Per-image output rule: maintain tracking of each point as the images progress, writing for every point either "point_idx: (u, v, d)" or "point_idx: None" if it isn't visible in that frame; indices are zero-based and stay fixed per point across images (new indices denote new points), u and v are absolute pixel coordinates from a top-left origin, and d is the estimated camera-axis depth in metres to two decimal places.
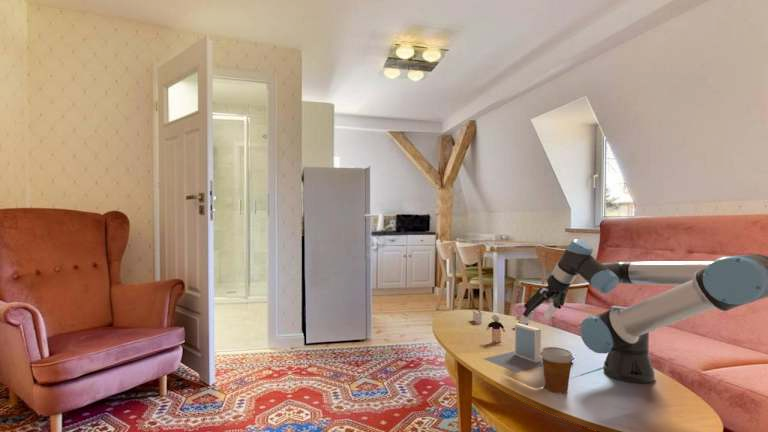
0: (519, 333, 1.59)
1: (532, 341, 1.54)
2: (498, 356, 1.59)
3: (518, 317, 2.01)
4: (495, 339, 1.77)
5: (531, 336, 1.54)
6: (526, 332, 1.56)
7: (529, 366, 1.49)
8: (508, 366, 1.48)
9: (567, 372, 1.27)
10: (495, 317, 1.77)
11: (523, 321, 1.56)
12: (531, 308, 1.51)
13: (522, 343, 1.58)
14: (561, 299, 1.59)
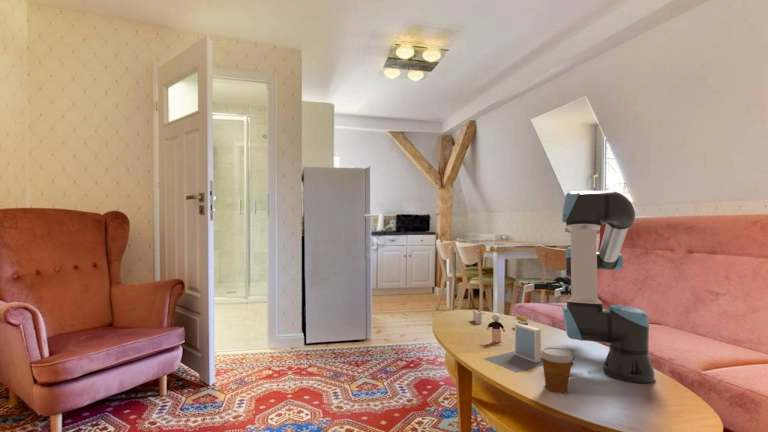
0: (519, 333, 1.59)
1: (532, 341, 1.54)
2: (498, 356, 1.59)
3: (518, 317, 2.01)
4: (495, 339, 1.77)
5: (531, 336, 1.54)
6: (526, 332, 1.56)
7: (529, 366, 1.49)
8: (508, 366, 1.48)
9: (567, 372, 1.27)
10: (495, 317, 1.77)
11: None
12: (531, 282, 1.75)
13: (522, 343, 1.58)
14: (570, 288, 1.65)
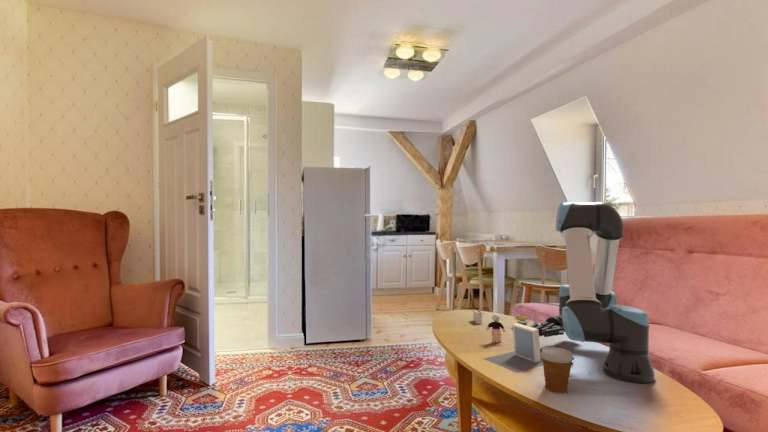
0: (517, 334, 1.59)
1: (531, 341, 1.54)
2: (498, 356, 1.59)
3: (517, 317, 2.02)
4: (495, 339, 1.77)
5: (529, 337, 1.54)
6: (524, 333, 1.56)
7: (529, 366, 1.49)
8: (508, 366, 1.48)
9: (567, 372, 1.27)
10: (495, 317, 1.77)
11: None
12: (532, 326, 1.67)
13: (521, 343, 1.58)
14: None
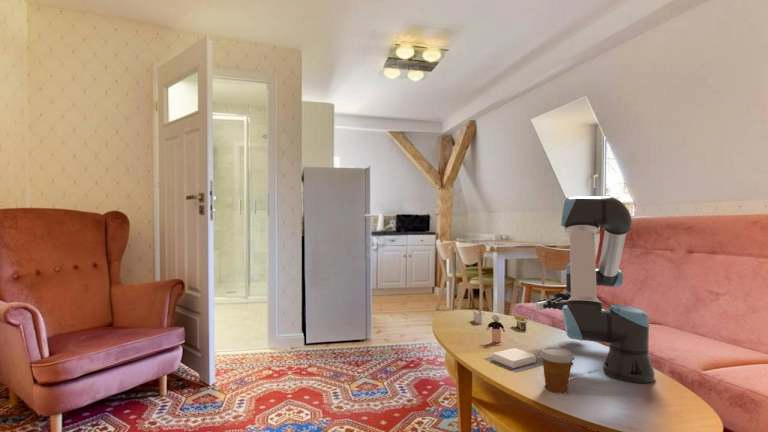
0: None
1: None
2: None
3: (516, 316, 2.03)
4: (495, 339, 1.77)
5: None
6: None
7: (529, 366, 1.49)
8: (508, 366, 1.48)
9: (567, 372, 1.27)
10: (495, 317, 1.77)
11: None
12: (541, 300, 1.71)
13: None
14: None
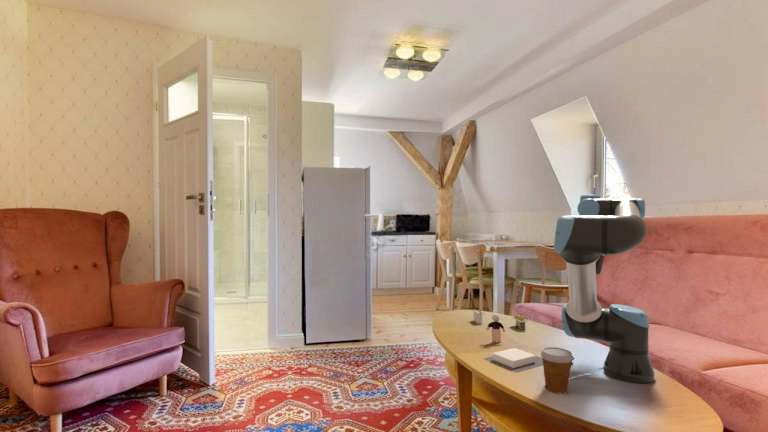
0: None
1: None
2: None
3: (515, 316, 2.03)
4: (495, 339, 1.77)
5: None
6: None
7: (529, 366, 1.49)
8: (508, 366, 1.48)
9: (567, 372, 1.27)
10: (495, 317, 1.77)
11: None
12: None
13: None
14: None
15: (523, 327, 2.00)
